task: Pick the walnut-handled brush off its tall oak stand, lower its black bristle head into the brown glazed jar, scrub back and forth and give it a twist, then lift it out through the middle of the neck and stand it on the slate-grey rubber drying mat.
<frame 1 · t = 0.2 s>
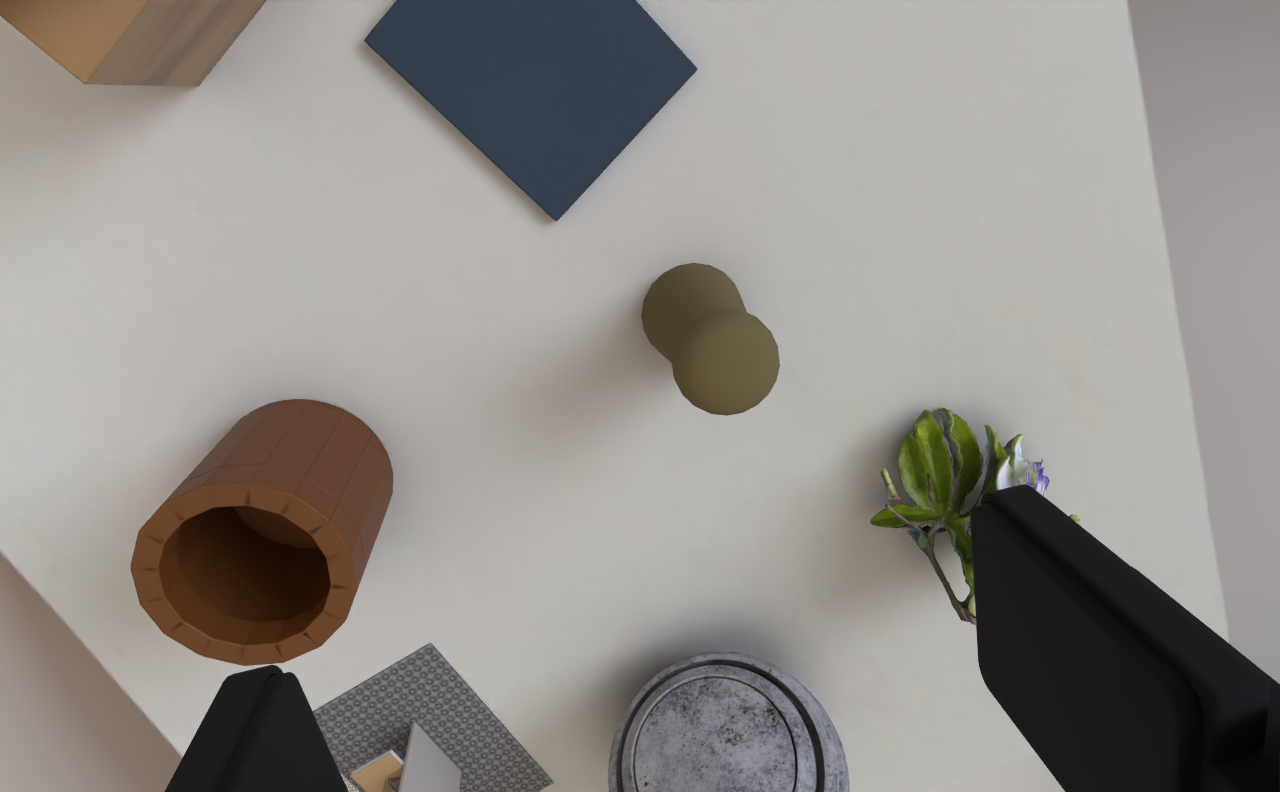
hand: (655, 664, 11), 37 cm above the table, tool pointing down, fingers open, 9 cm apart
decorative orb: (705, 695, 58), on the table
architectural model: (427, 752, 57), on the table
jar: (307, 476, 49), on the table
drying mat: (535, 55, 42), on the table
cork: (691, 313, 48), on the table
passion flower: (938, 488, 55), on the table
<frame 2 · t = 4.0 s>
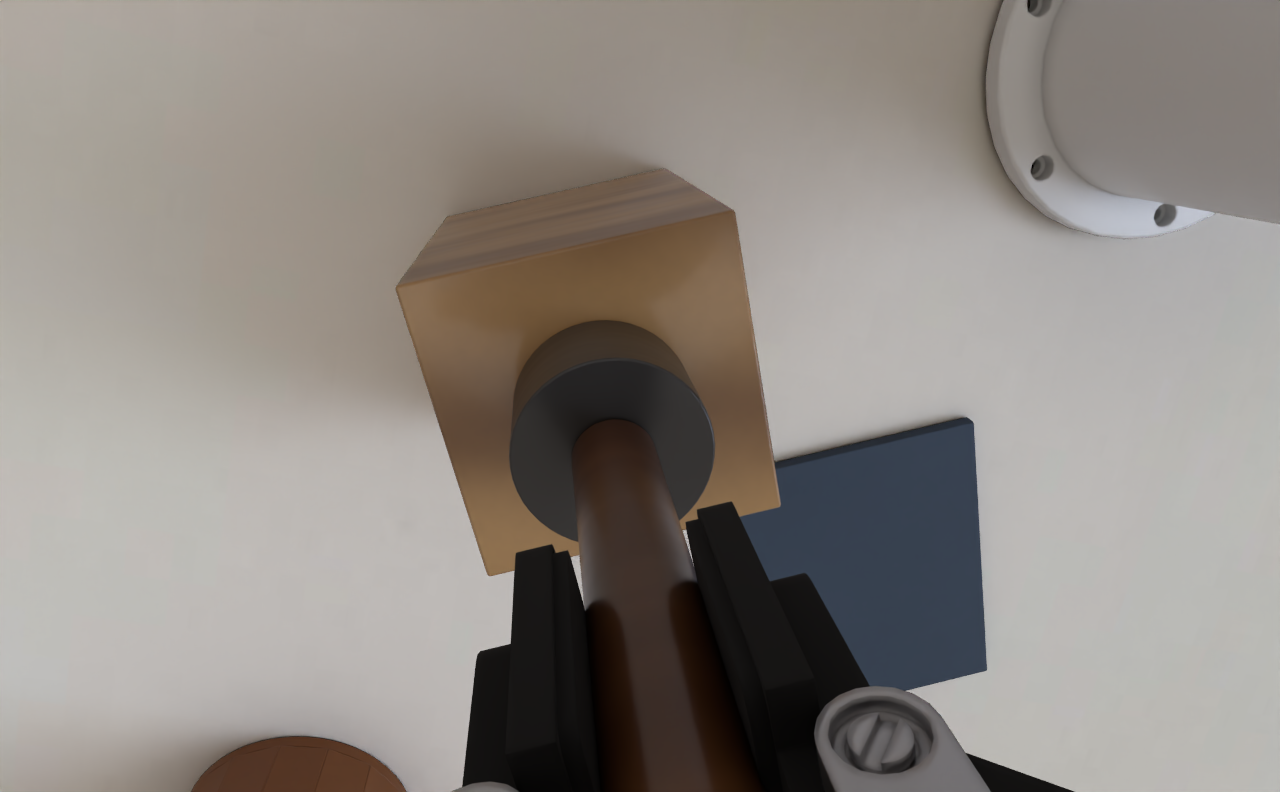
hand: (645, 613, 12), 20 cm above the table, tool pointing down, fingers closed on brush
drying mat: (855, 576, 36), on the table
brush stand: (581, 299, 30), on the table
brush: (603, 406, 20), point 11 cm above the table, touching brush stand, gripper
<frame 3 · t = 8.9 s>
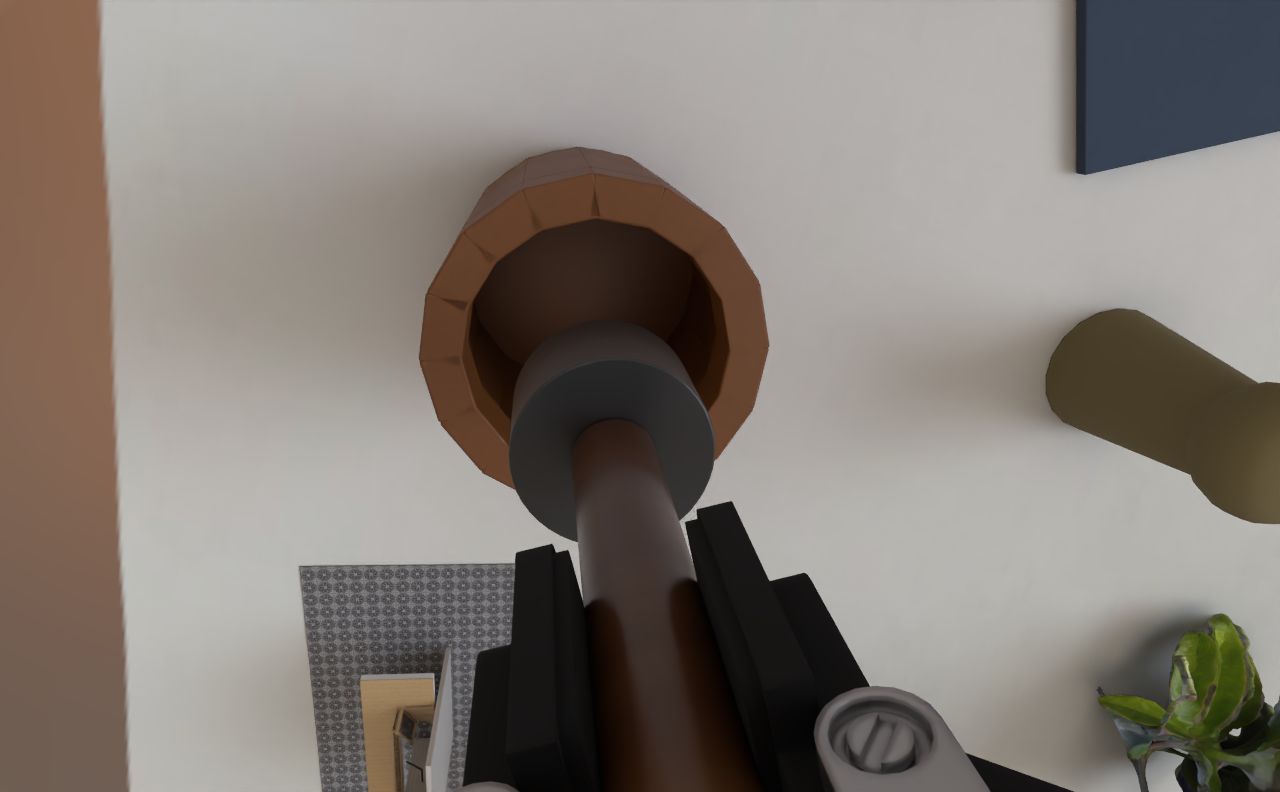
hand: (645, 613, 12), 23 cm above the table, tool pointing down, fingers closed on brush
architectural model: (431, 692, 41), on the table
jar: (581, 273, 34), on the table
cork: (1104, 369, 38), on the table
brush: (603, 405, 20), point 15 cm above the table, touching gripper
passion flower: (1150, 697, 46), on the table
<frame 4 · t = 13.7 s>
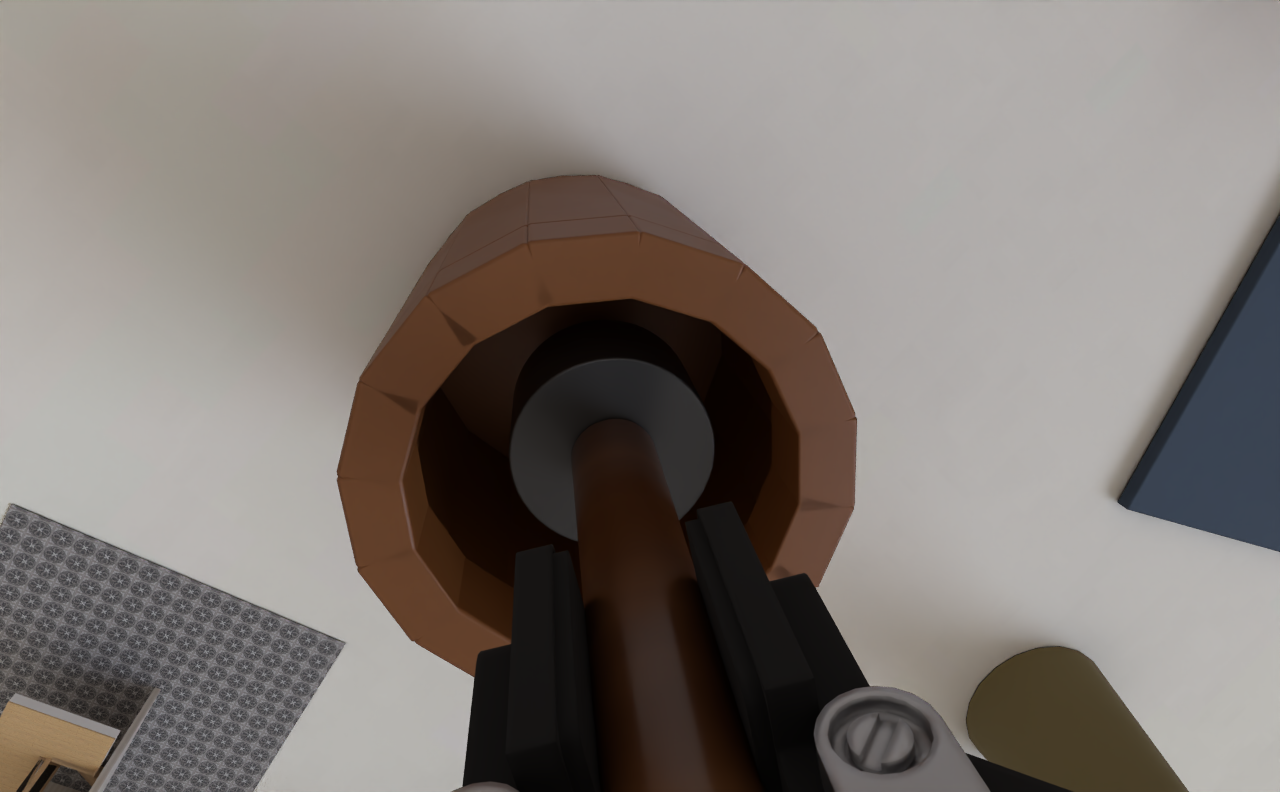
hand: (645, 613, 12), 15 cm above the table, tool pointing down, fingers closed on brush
architectural model: (103, 732, 29), on the table
jar: (578, 336, 26), on the table
cork: (1032, 703, 34), on the table
brush: (603, 405, 20), point 6 cm above the table, touching gripper
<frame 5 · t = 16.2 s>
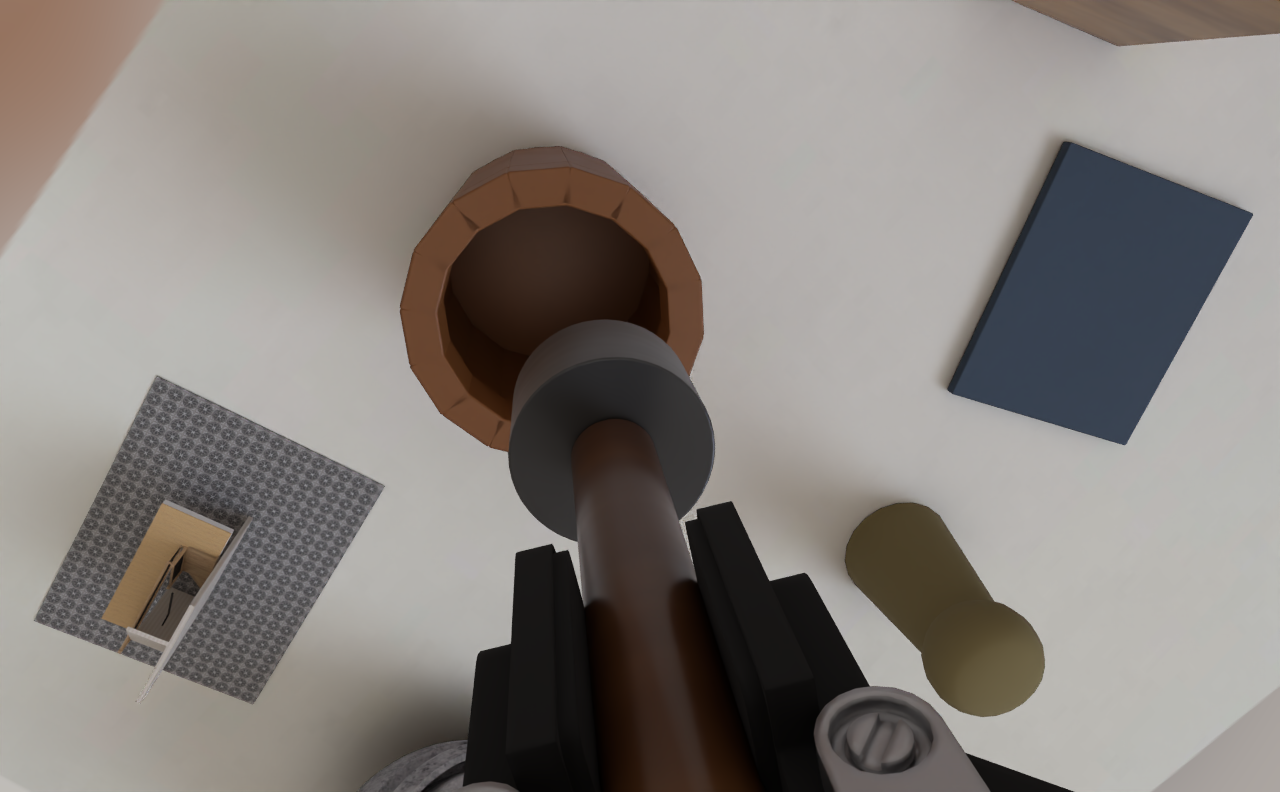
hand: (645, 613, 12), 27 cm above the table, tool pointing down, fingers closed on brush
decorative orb: (467, 782, 48), on the table
architectural model: (210, 551, 41), on the table
jar: (549, 260, 37), on the table
drying mat: (1092, 302, 42), on the table
cork: (895, 548, 46), on the table
brush: (603, 405, 20), point 19 cm above the table, touching gripper
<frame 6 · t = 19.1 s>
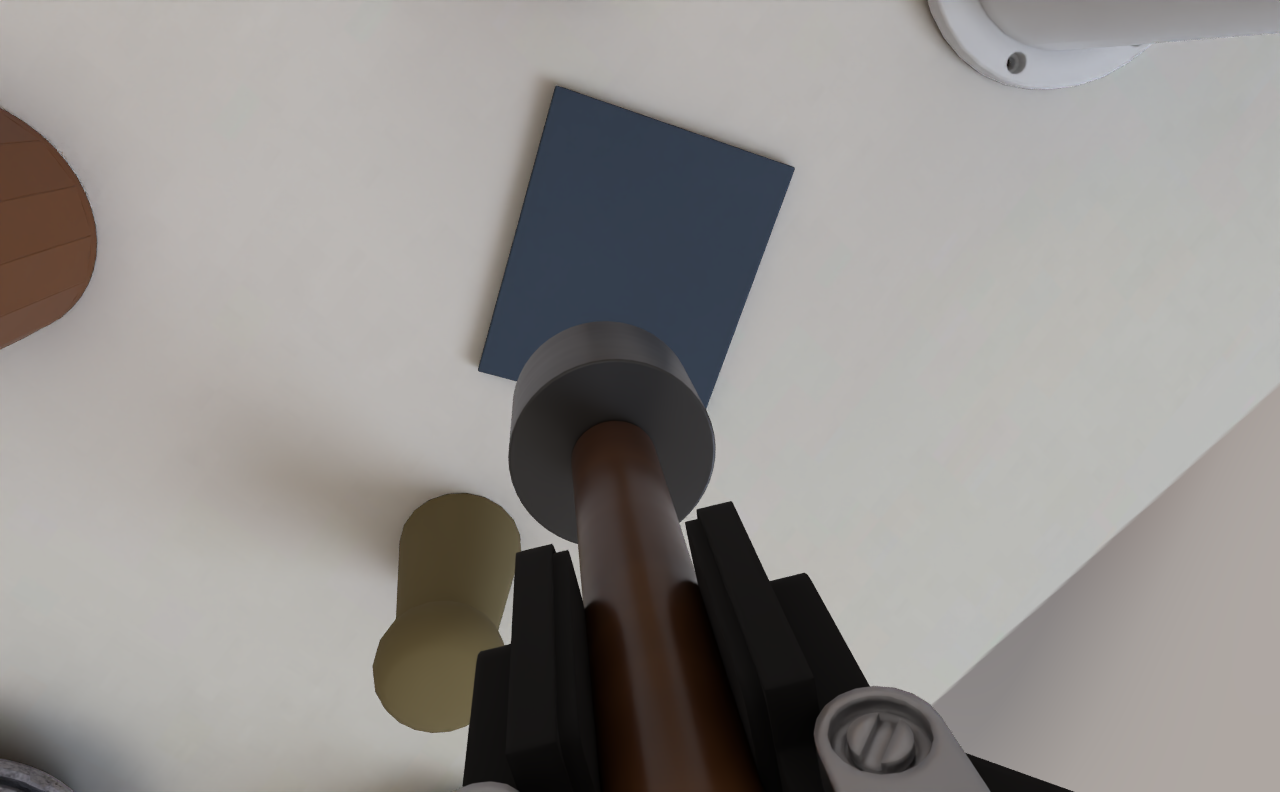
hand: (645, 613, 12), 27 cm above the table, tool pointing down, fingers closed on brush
drying mat: (632, 269, 37), on the table
cork: (461, 544, 41), on the table
brush: (603, 407, 20), point 18 cm above the table, touching gripper
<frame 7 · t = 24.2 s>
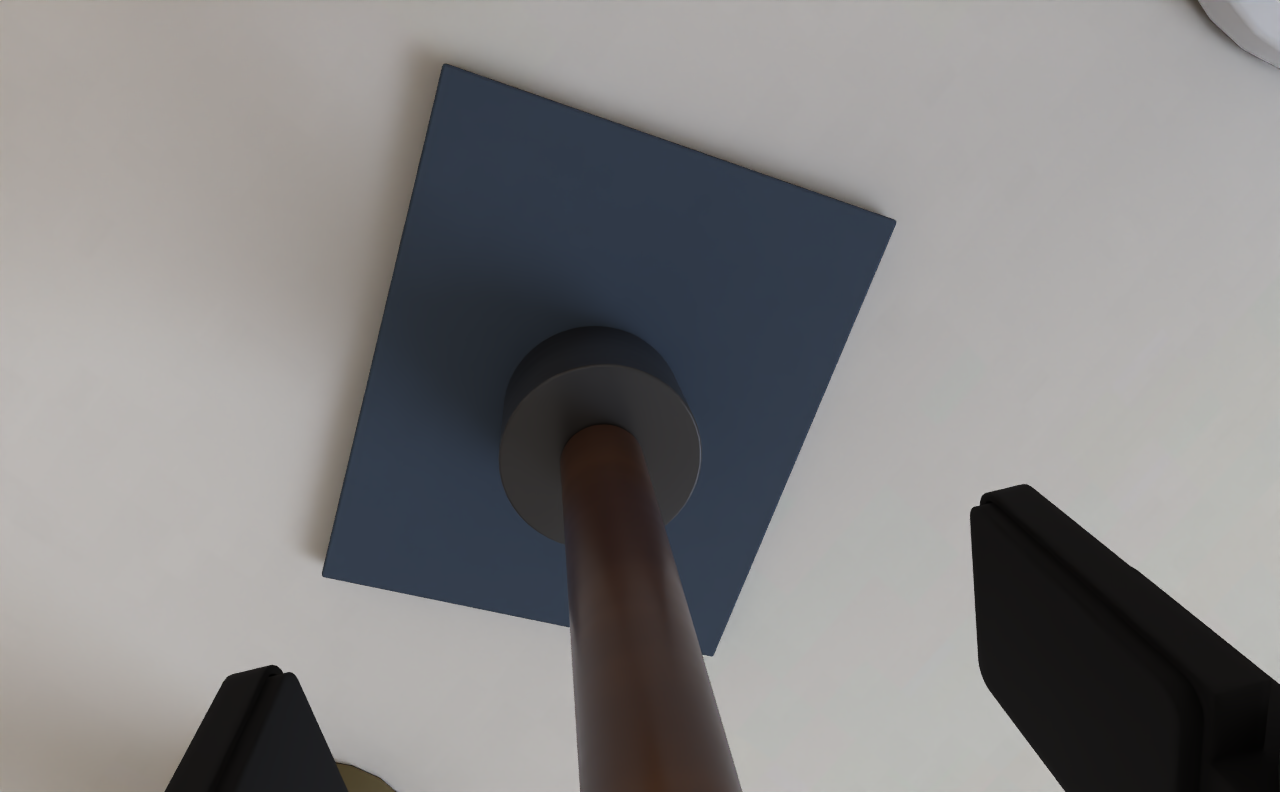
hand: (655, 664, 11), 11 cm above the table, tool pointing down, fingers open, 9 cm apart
drying mat: (597, 397, 21), on the table
brush: (593, 410, 20), point 1 cm above the table, touching drying mat
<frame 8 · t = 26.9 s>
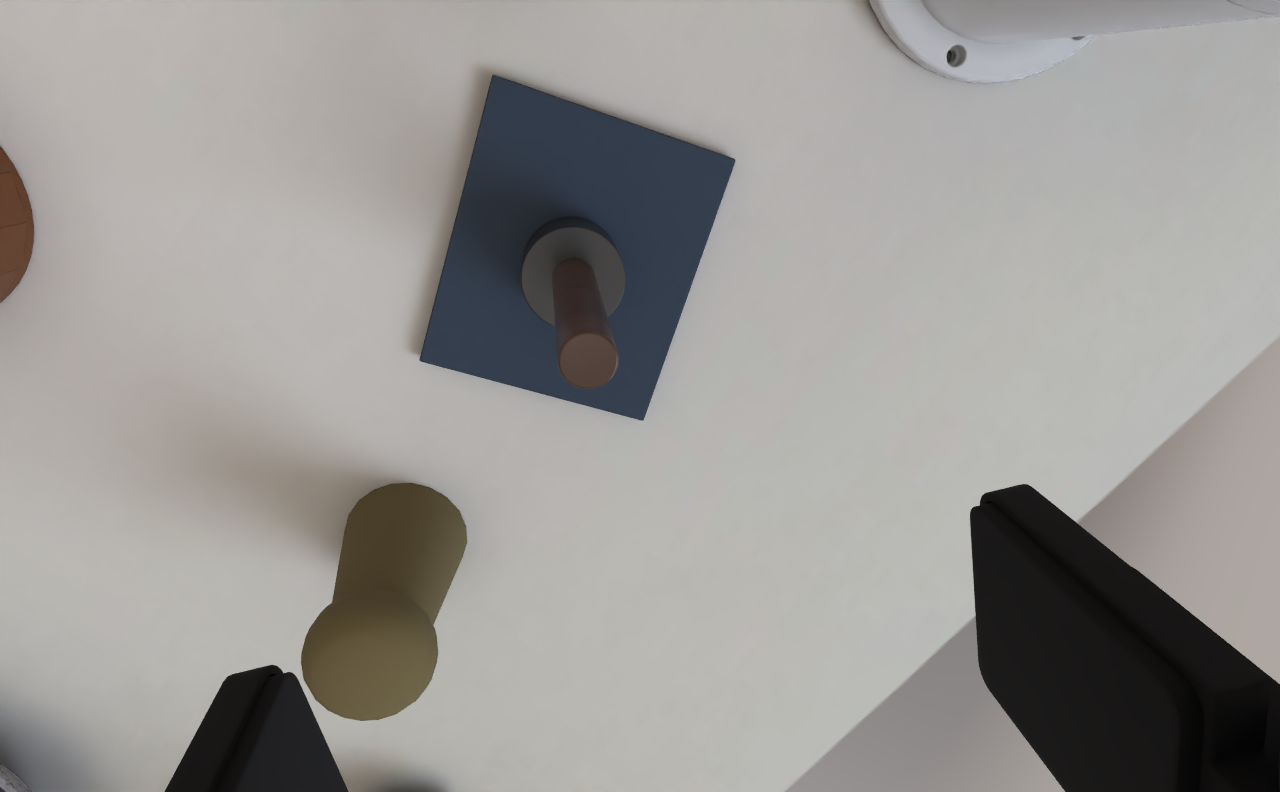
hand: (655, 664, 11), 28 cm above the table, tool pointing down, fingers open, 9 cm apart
drying mat: (573, 260, 37), on the table
cork: (407, 534, 41), on the table
brush: (571, 265, 37), point 1 cm above the table, touching drying mat
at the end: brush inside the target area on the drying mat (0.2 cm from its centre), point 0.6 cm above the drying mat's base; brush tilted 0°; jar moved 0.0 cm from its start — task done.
